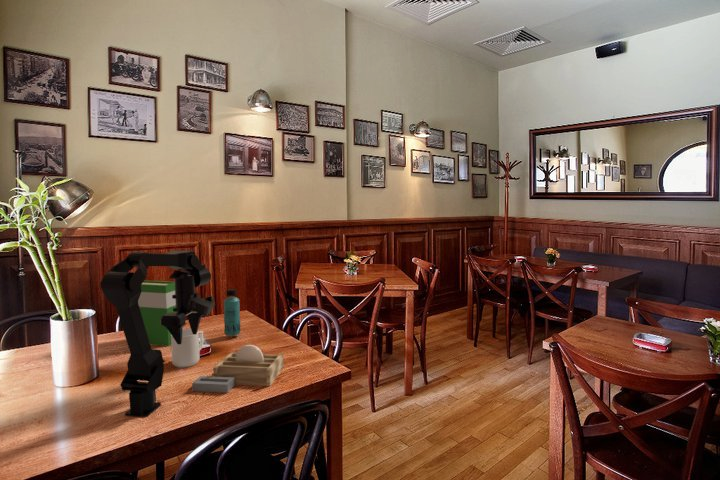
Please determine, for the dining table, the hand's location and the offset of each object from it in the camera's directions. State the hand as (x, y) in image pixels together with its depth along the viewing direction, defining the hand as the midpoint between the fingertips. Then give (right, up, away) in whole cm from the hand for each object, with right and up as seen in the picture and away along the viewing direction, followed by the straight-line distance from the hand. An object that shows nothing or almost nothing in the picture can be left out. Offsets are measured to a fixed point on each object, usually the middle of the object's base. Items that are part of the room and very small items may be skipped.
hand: (187, 339), depth 129 cm
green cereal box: (-28, -10, +37) cm, 47 cm away
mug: (-5, -12, +15) cm, 20 cm away
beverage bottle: (+2, -9, +41) cm, 42 cm away
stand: (+10, -14, -5) cm, 18 cm away
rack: (+19, -13, +4) cm, 23 cm away
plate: (+19, -7, +3) cm, 20 cm away
